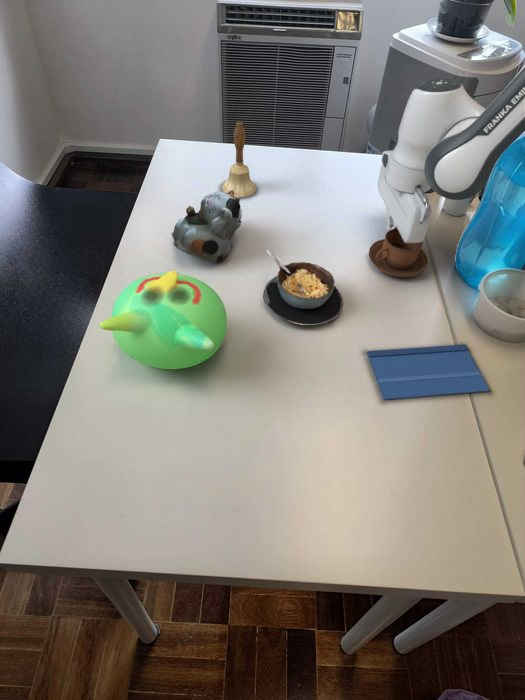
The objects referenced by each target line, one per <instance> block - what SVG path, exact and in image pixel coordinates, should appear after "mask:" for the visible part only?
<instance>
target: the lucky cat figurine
mask: <svg viewBox="0 0 525 700" xmlns="http://www.w3.org/2000/svg"><path fill="white" fill-rule="evenodd" d="M240 201H241V198H234V191H233V190H231V191H229V192H228V193H225V192H223V191H214V192H212V193H209V194H207V195H206V196H204V197H203V198H202V199H201V201H200V206H199V207H200V208H199V210H198V212H196V210H195V208H194V206H191V205H189V206H187V208H185V210H186V216H185V217H182V218H179V220H177V222H176V224H175V225H174V228H173V231H172V232H171V234H170V235H171V237H172V238H173V240H174V243H173V246H174V247H175V248H176V249H177V250H179V251H181V252H184V253H185V254H188V255H191V256H195V257H198V258H200V259H202V260H203V261H207V262H211V263H217V262H222V261H225V260H226V259H227V258H228V257H229V253H230V251H231V246H232V239H233V236H234V235H235V233H236V232H237V230H238V229H239V228H240V227H241V225H242V220H241V219H242V217H243V210H242V208H241V204H240Z"/></svg>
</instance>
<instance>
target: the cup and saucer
mask: <svg viewBox="0 0 525 700" xmlns="http://www.w3.org/2000/svg"><path fill="white" fill-rule="evenodd" d="M422 246H423V241H422V242H420V243H405V242H404V241H403V238H402V237H401V235H400V233H399V231H398V229H397V228H395V229H392V230H389V231H387V232H386V233H385V236H384V238H383V239H379V240H377V241H375V242H373V244H372V245H370V247H369V250H368V257H369V260H370V262H371V263H372V264H373V265H374V267H375V268H377V269H378V270H379V271H380V272H382V273H385V274H387V275H389V276H392V277H397V278H410V277H414V276H418V275H420V274H421V273H423V272H424V271H425V270H426V268H427V267H428V264H429V261H428V260H429V259H428V256H427V254H426V252H424V250H423V249H422Z"/></svg>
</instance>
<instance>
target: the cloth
mask: <svg viewBox="0 0 525 700" xmlns="http://www.w3.org/2000/svg"><path fill="white" fill-rule="evenodd" d="M469 350H470V349H469V347H468V345H467V344H451V345H437V346H424V347H423V346H421V347H410V348H407V347H406V348H395V349H394V348H393V349H379V350H368V351H366V355H367V357H368V360H369V363H370V366H371V368H372V372H373V374H374V377H375V380H376V382H377V385H378V388H379V391H380V394H381V397H382V399H383V401H391V400H403V399H414V398H415V399H416V398H417V399H418V398H428V397H429V398H430V397H440V396H441V397H442V396H454V395H462V394H463V395H465V394H476V393H478V394H479V393H488V392H490V391H491V390H490V388H489V387H488V385H487V382H486V381H485V379H484V377H483V375H482V372H481V371H480V370H479V367H478V366H477V364H476V362H475V360H474V359H473V357H472V355H471V353H470V351H469Z"/></svg>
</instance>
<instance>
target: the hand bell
mask: <svg viewBox="0 0 525 700" xmlns="http://www.w3.org/2000/svg"><path fill="white" fill-rule="evenodd" d="M235 124H236V125H235V128H234V131H233V143H234V147H235V163H233V164H232V165H231V166H230V167H229V174H228V178H227V179H226V181H224V182H223V183H222V186H221V190H222V192H225V193H228V192H229V191H231V190H233V191H234V199H236V198H239V199H245V198H249V197H252V196H253V195H254V194H256V191H257V186H256V184H255V183H254V182H253V181H252V179H251V176H250V168H249V166H247V164H244V148H245V144H246V131H245V127H244V124H243V121H240V120H239V121H236V123H235Z"/></svg>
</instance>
